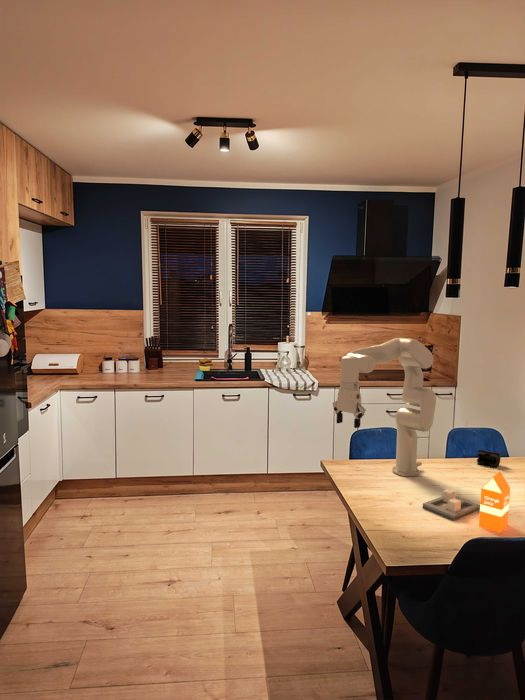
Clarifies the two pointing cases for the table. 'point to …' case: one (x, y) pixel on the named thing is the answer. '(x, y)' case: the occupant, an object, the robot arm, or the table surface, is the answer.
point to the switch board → (442, 509)
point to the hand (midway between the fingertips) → (348, 425)
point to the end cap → (488, 459)
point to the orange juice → (494, 504)
